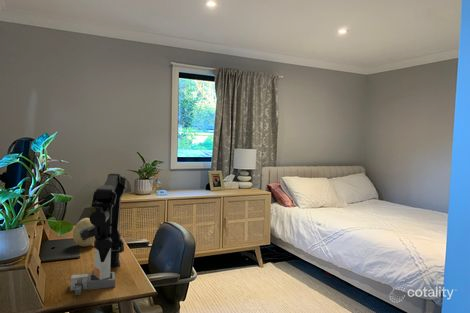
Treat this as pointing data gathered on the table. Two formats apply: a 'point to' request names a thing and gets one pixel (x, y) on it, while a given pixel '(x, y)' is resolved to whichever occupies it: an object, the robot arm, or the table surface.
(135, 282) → the table surface
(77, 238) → the fossilized egg
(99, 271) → the skincare box
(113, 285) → the socket
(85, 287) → the pin mount
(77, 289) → the lock pin
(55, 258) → the table surface
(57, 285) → the table surface
